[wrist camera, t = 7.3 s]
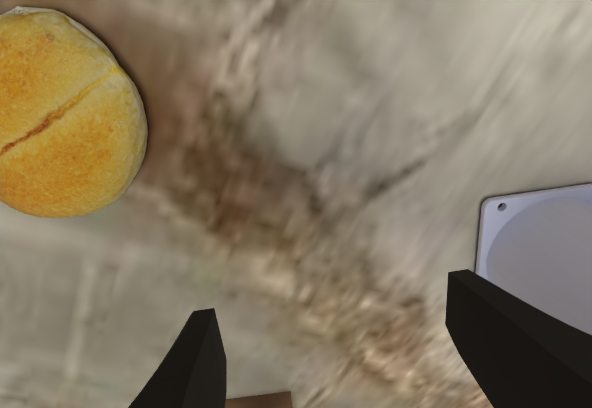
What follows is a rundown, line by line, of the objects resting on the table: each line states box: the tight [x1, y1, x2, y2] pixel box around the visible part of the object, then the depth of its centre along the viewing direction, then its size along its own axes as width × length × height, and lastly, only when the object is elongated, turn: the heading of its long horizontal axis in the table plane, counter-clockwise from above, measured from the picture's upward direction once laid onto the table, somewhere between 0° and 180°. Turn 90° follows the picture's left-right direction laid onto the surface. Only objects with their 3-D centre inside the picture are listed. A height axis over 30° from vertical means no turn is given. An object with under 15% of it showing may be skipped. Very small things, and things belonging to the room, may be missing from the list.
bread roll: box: [0, 6, 148, 218], centre depth 18 cm, size 8×9×4 cm
